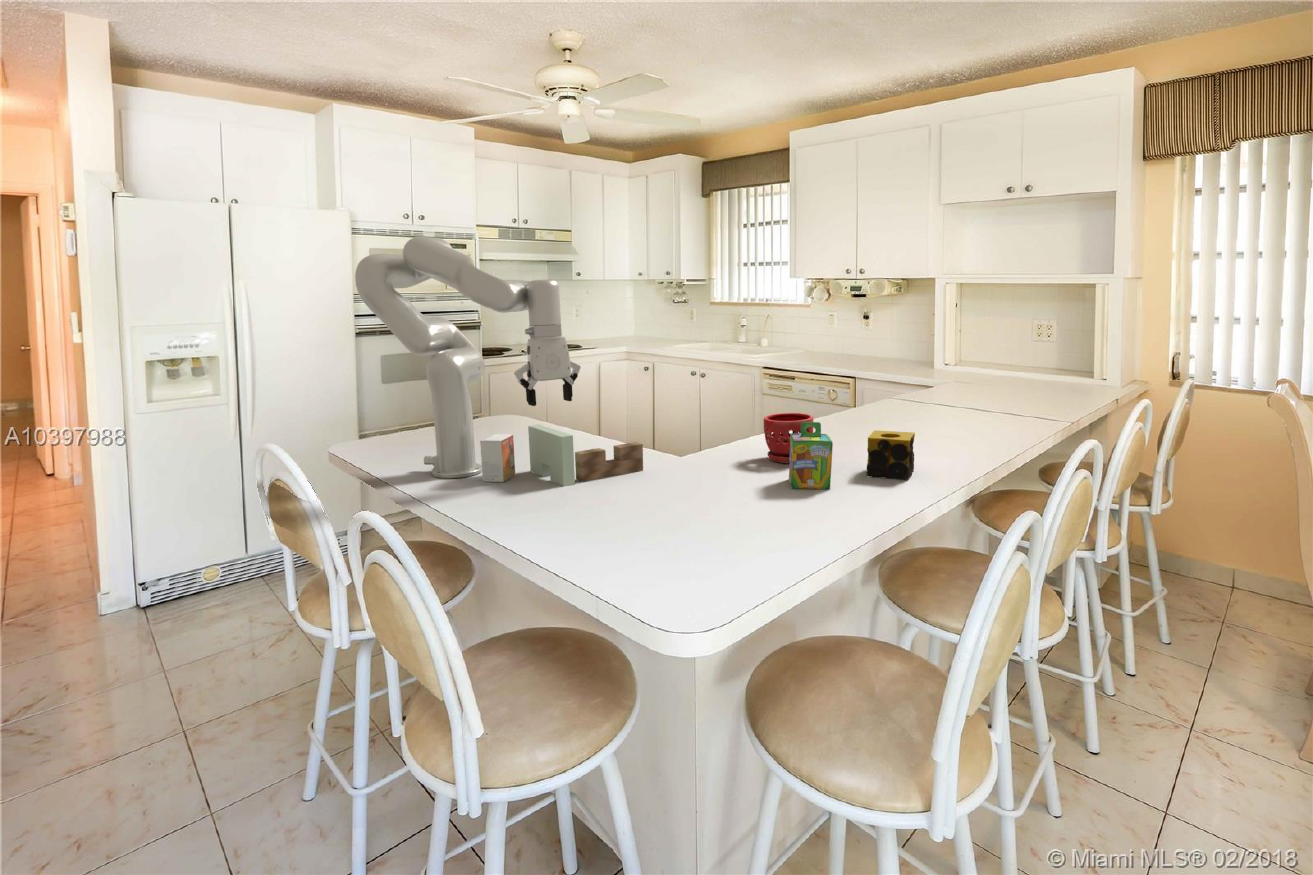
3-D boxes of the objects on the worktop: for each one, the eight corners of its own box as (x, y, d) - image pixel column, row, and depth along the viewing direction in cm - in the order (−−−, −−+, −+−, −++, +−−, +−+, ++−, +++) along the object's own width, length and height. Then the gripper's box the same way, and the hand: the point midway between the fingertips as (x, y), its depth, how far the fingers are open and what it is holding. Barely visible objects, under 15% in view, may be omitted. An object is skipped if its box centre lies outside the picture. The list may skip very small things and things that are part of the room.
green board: (530, 471, 191) (528, 425, 188) (541, 469, 192) (538, 424, 190) (563, 486, 176) (561, 437, 174) (574, 484, 178) (572, 435, 176)
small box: (503, 482, 180) (501, 440, 178) (482, 482, 181) (479, 440, 179) (516, 474, 188) (513, 434, 186) (495, 473, 189) (493, 433, 187)
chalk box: (791, 489, 171) (792, 426, 168) (788, 479, 180) (789, 419, 177) (831, 490, 170) (834, 426, 167) (826, 479, 179) (828, 419, 176)
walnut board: (582, 482, 180) (581, 454, 178) (575, 479, 182) (574, 452, 181) (643, 470, 190) (642, 443, 188) (636, 468, 192) (636, 442, 191)
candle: (914, 471, 185) (916, 432, 183) (909, 481, 176) (911, 440, 174) (872, 467, 190) (874, 429, 188) (865, 477, 181) (867, 437, 179)
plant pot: (797, 452, 207) (798, 410, 204) (821, 463, 195) (823, 418, 192) (754, 456, 203) (755, 413, 200) (777, 467, 191) (778, 422, 188)
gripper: (519, 335, 169) (524, 409, 173) (585, 330, 179) (588, 400, 182) (505, 334, 175) (511, 405, 179) (570, 329, 185) (573, 397, 188)
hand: (550, 402), depth 180 cm, fingers open, 9 cm apart
